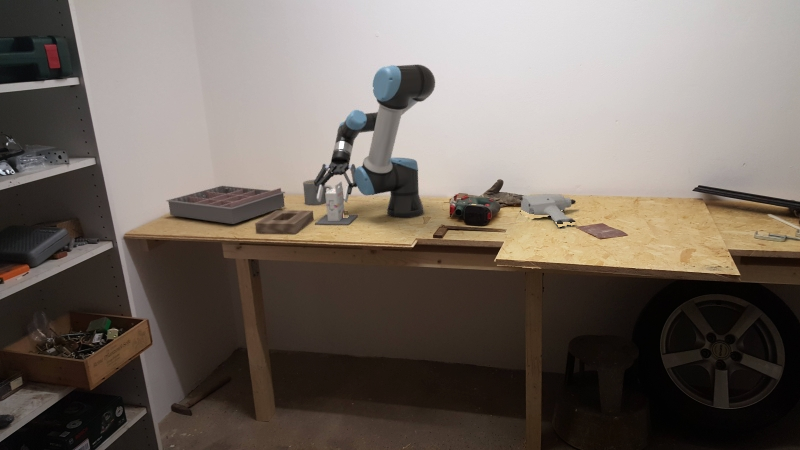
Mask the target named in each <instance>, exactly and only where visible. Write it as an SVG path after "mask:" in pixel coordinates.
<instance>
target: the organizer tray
mask: <svg viewBox="0 0 800 450" xmlns="http://www.w3.org/2000/svg"><path fill="white" fill-rule="evenodd" d="M285 193H286V191H282V187H278V188H275V189H272V190H268V189H260V188H259V189H258V188H251V187H250V188H249V187H238V186H229V185H228V186H226V185H219V186H216V187H212V188H209V189H204V190H201V191H197V192H196V191H195V192H193V193H189V194H186V195H182V196H178V197H175V198H170V199H167V200H165V202H168V206H169V209H168V210H169V213H170V216H175V217H181V218H188V219H195V220H203V221H209V222H215V223H216V222H217V223H224V224H229V225H230V224H231V225H236V224H238V223H240V222H244V221H246V220H250V219H252V218H253V219H254V218H255V217H258V216H261V215H264V214H268V213H271V212H272V211H273V212H274V211H276V210H279V209H281V208H285V196H284V194H285Z"/></svg>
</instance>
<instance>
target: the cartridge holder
mask: <svg viewBox="0 0 800 450" xmlns="http://www.w3.org/2000/svg"><path fill="white" fill-rule="evenodd" d="M313 221H314V210H303V209H302V210H299V209H296V210H293V209H292V210H287V209H286V210H284V209H281V210H279V209H276V210H273V212H272V213H271V212H270V213H269V214H268V215H266V216H265V217H263V218H262V219H260V220H258V221H257V222H255V223H254V226H255V233H256V234H261V235H262V234H264V235H265V234H266V235H268V234H270V235H275V234H276V235H277V234H278V235H296V234H298V233H299V232H301V230H303V229H304V228H306V227H307V226H308V225H309V224H310V223H312V222H313Z"/></svg>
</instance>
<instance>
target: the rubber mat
mask: <svg viewBox="0 0 800 450" xmlns="http://www.w3.org/2000/svg"><path fill="white" fill-rule="evenodd" d="M348 215H349V217H348V218H342V219H341V220H340V221H328V216H327V213H326V214H325V215H324V216H322V217H321V218H319V220H317V221H316V222H314V225H315V226H349V225H351V224H352V223H353V222H354V221H355V220H356V219H357V218H358V217H359V214H348Z"/></svg>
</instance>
